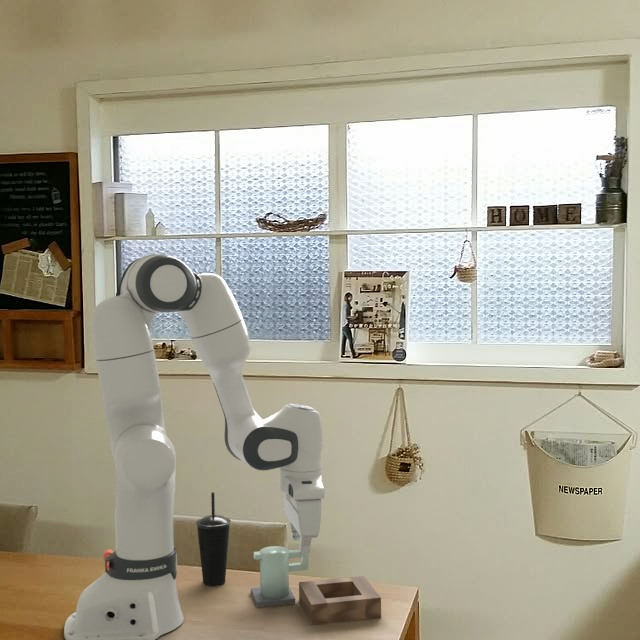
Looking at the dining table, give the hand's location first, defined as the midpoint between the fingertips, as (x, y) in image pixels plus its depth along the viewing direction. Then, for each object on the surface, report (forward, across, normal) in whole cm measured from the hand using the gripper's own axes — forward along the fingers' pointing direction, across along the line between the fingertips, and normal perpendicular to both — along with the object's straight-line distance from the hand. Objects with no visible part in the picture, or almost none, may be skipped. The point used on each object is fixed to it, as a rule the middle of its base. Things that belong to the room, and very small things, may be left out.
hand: (299, 546), depth 173 cm
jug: (+10, 0, -4) cm, 10 cm away
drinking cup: (+11, -12, -17) cm, 23 cm away
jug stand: (+10, +9, +6) cm, 15 cm away
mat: (+11, 0, -6) cm, 12 cm away
